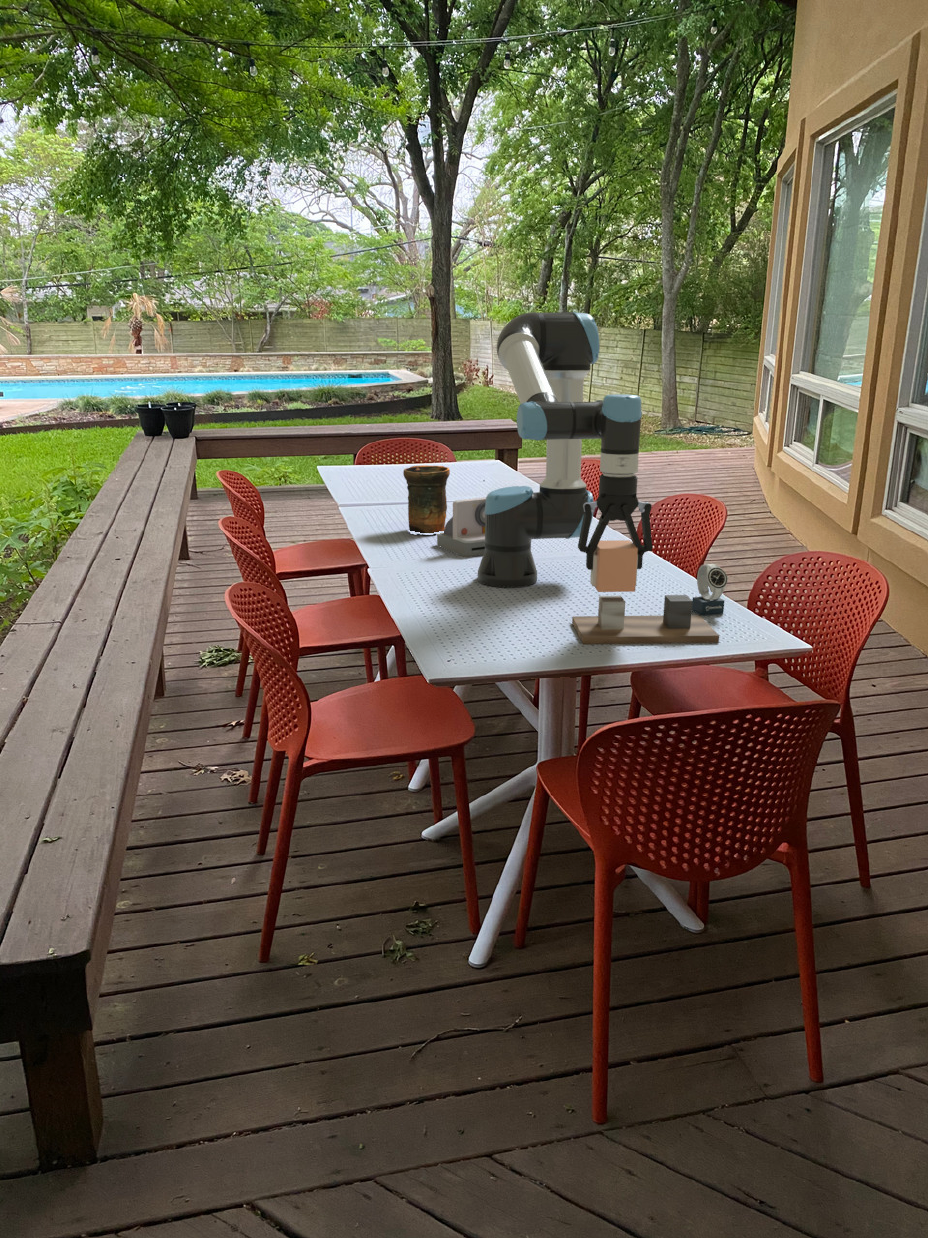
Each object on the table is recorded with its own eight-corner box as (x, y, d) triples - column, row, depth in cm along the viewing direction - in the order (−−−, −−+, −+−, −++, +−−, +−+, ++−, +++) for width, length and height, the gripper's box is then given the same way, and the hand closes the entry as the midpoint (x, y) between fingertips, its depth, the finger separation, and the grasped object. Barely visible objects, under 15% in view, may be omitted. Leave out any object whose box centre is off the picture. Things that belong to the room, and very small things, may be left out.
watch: (706, 618, 205) (710, 570, 202) (687, 608, 212) (691, 561, 209) (728, 616, 206) (732, 568, 203) (709, 606, 214) (713, 559, 210)
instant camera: (457, 559, 257) (457, 505, 253) (431, 543, 276) (431, 493, 271) (525, 552, 265) (527, 500, 261) (496, 537, 283) (497, 488, 279)
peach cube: (591, 582, 195) (593, 540, 193) (627, 582, 196) (629, 540, 193) (598, 592, 188) (600, 548, 185) (635, 591, 188) (637, 548, 186)
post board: (572, 623, 201) (573, 589, 199) (699, 621, 203) (701, 588, 200) (582, 644, 188) (584, 608, 186) (718, 642, 189) (721, 607, 187)
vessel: (460, 532, 289) (458, 468, 283) (421, 539, 281) (419, 473, 275) (435, 524, 300) (433, 463, 294) (397, 531, 293) (394, 467, 286)
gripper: (570, 477, 181) (566, 589, 188) (674, 476, 182) (666, 588, 188) (565, 471, 188) (561, 580, 195) (664, 471, 189) (657, 579, 196)
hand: (613, 584), depth 192 cm, fingers closed on peach cube, 8 cm apart
